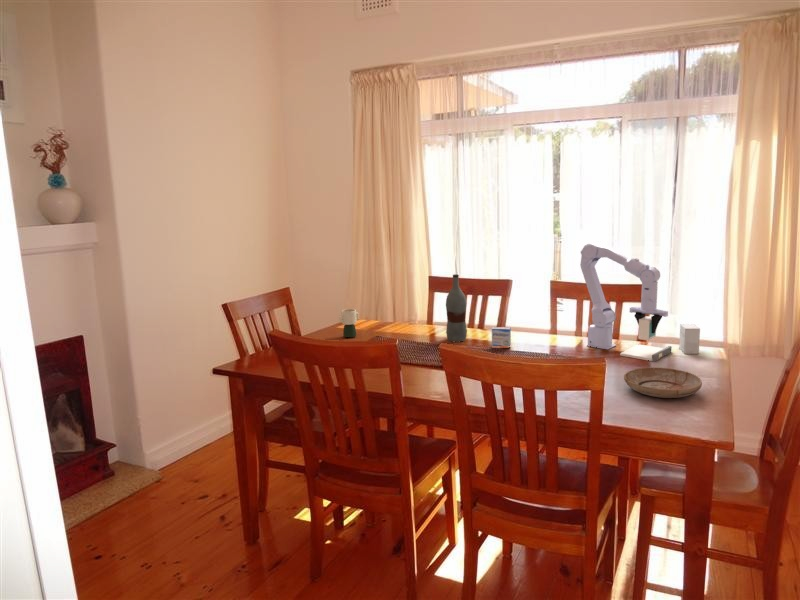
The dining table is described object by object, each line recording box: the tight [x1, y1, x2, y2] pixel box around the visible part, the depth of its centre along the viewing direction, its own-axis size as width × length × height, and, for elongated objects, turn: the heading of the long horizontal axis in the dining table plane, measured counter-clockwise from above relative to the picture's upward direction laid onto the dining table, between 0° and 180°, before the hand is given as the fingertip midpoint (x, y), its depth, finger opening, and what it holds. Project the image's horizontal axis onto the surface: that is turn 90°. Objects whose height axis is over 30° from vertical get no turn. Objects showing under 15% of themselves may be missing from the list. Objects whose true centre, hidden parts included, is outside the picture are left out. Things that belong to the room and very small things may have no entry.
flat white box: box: [620, 344, 672, 362], centre depth 241 cm, size 14×17×2 cm
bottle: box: [445, 273, 468, 343], centre depth 270 cm, size 9×9×30 cm
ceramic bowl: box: [623, 367, 703, 399], centre depth 198 cm, size 23×24×5 cm
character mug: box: [338, 308, 360, 338], centre depth 284 cm, size 11×7×13 cm, turn 127°
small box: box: [678, 323, 701, 355], centre depth 242 cm, size 8×6×10 cm
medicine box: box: [491, 326, 512, 346], centre depth 257 cm, size 8×4×9 cm, turn 76°
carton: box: [637, 315, 657, 341], centre depth 239 cm, size 4×7×8 cm, turn 136°
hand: (647, 332), depth 240 cm, fingers closed on carton, 4 cm apart
